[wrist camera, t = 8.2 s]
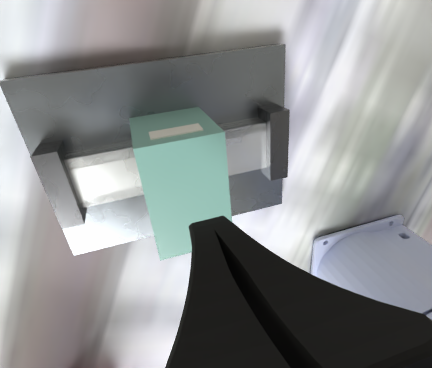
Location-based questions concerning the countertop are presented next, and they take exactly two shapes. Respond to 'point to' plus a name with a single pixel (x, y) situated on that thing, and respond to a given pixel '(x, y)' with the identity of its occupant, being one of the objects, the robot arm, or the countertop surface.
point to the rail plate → (122, 141)
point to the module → (181, 174)
